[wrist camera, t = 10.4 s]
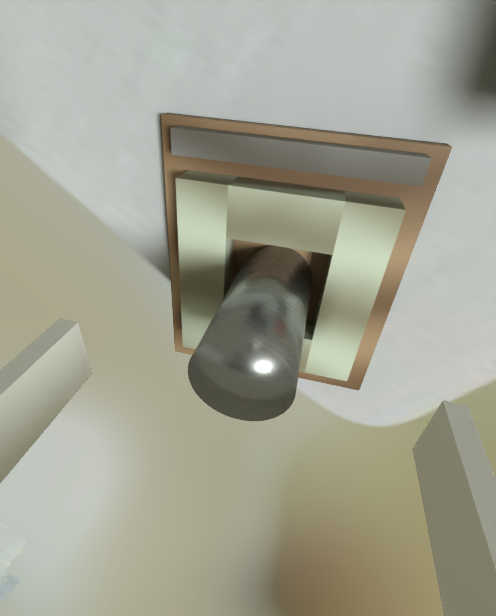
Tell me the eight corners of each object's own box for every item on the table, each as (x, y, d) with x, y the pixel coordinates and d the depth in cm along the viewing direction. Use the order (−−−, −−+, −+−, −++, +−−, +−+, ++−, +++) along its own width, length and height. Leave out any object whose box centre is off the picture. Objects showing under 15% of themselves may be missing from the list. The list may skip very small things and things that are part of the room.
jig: (168, 113, 18) (142, 116, 15) (446, 143, 16) (466, 154, 14) (179, 343, 27) (164, 368, 24) (358, 380, 25) (360, 412, 22)
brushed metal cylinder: (243, 239, 20) (185, 329, 12) (318, 251, 19) (303, 352, 12) (239, 302, 22) (189, 407, 15) (306, 314, 22) (288, 430, 14)
